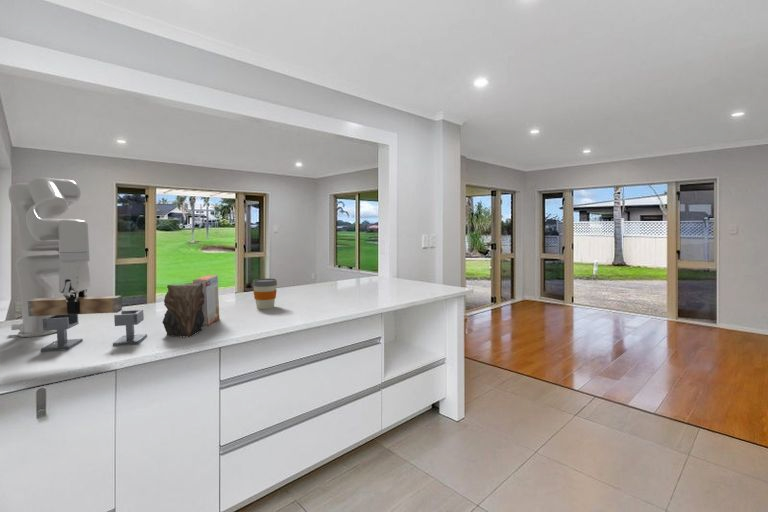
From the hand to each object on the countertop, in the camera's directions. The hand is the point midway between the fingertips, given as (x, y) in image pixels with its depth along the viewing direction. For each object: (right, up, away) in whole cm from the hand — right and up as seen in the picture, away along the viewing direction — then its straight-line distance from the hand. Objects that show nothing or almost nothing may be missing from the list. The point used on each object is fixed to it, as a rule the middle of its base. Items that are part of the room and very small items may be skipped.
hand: (77, 311), depth 121 cm
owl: (+21, -13, +26) cm, 37 cm away
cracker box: (+22, -12, +44) cm, 50 cm away
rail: (0, -1, 0) cm, 1 cm away
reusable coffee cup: (+38, -10, +77) cm, 86 cm away
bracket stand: (-4, -14, +13) cm, 19 cm away
